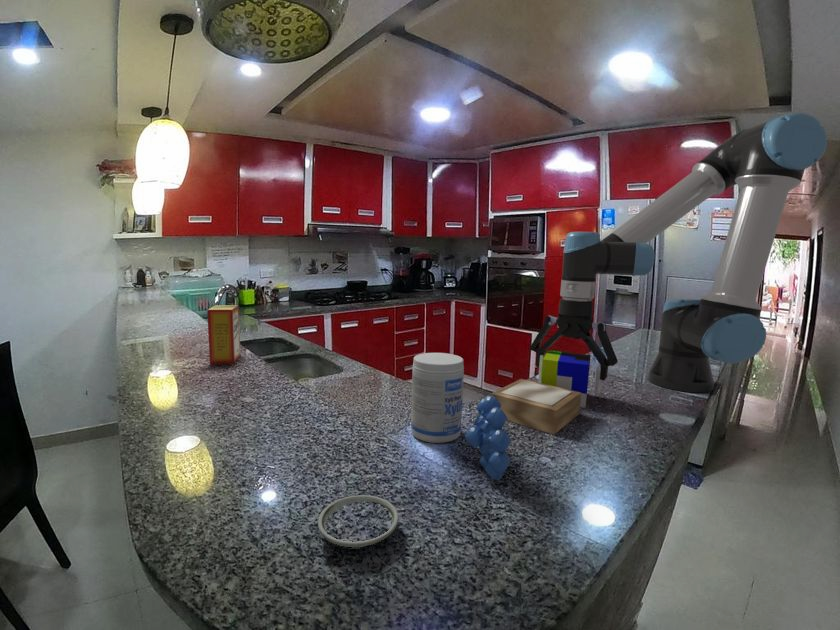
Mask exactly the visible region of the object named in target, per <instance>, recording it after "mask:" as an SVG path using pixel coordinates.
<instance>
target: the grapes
mask: <svg viewBox="0 0 840 630" xmlns="http://www.w3.org/2000/svg"><path fill="white" fill-rule="evenodd" d="M501 406H502V405H501V404H500V402H499V401H498V400H497V399H496V398H495V397H494V396H492V395H491V394H489V395H487V396H486V397H483V398H482V399H480V401H479V402H478V404H477V405H476V407H475V409H476V411H477V412H478V415H477V417H476V419H475V420H474V422H473V424H474V425H472V426H470V427H469V429H468V430H467V432H466V434H465V435H464V438H465V440H466V441H467V442H468V444H469V445H470V446H471V447H472V448H477V449H478V450H479V452H480V453H481V455H482V456H481V457H480V459H479V463H480V465H481V466H482V467H483V469H484V468H485V469H484V471H485V472H486V473H487V474H488V477H490V479H492V480H494V479H495V481H499V480H501V479H502V477H503V476H504V474H505V472H506V470H507V469H508V467H509V466H510V464H511V459H510V457H509V455H508V454H507V453H506V451H507V449H508V448H509V446H510V445H511V442H512V438H511V437H510V435H509V434H508V433H507V432H506V431H505V430H504V429H503V427H504V426H505V424H506V423H507V416H506V415H505V413H504V412H503V411H502V410H501V409H500V408H501ZM498 479H499V480H498Z"/></svg>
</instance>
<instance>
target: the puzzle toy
mask: <svg viewBox="0 0 840 630" xmlns="http://www.w3.org/2000/svg"><path fill="white" fill-rule="evenodd" d="M545 354H546V355H545V357H544V358H543V365H542V379H541V381H540V383H541V384H546V385H550V386H554V387H559V388H563V389H567V390H572V391H576V392H581V400H580V408H584V409H585V408H586V406H587V396H588V387H589V385H588V384H589V378H590V377H589V376H590V375H589V374H590V367H591V365H590V364H591V356H592V355H590V354H582V353H576V352H565V351H558V350H557V351H556V350H548V349H547V350H546V352H545Z"/></svg>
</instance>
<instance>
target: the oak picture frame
mask: <svg viewBox="0 0 840 630" xmlns="http://www.w3.org/2000/svg"><path fill="white" fill-rule="evenodd" d="M490 395H492V396H494V397H495V398H496V399H497V400H498V401H499V402H500V404H501V405H502V406H501V408H500V409H501V410H502V411H503V412H504V413H505V415H506V416H507V421H508V422H511V423H515V424H517V425H520V426H521V425H522V426H525V427H528V428H531V429H535V430H537V431H541V432H544V433H547V434H551V435H555V434H557V433H558V432H559V431H560V430H561V429H562V428H564V427H565V426H567V425H568V424H569V423H570V422H571V421H573V420H574V419H575V418H576V417H577V416H579V415H580V410H581V409H580V408H581V407H580V400H581V392H576V391H572V390H567V389H563V388H559V387H554V386H550V385H546V384H541V382H535V381H533V380H528V379H523V378H519V379H518V380H516V381H514V382H512V383H509V384H508V385H505V386H504V387H501V388H499V389H497V390H495V391H493V392H491V393H490ZM507 421H506V422H507Z"/></svg>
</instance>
